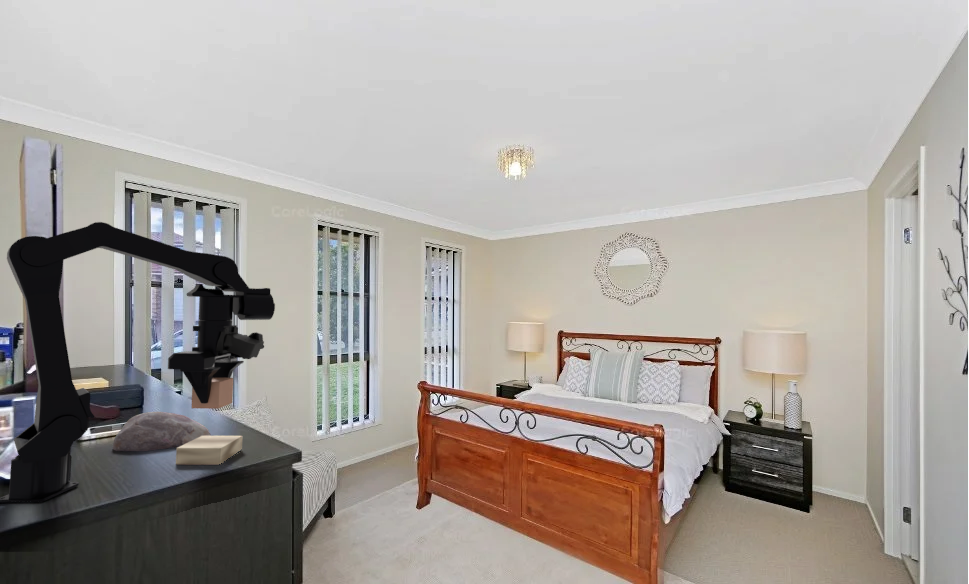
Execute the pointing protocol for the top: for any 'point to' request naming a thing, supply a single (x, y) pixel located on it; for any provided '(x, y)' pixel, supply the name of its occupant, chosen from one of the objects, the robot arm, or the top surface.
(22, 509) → the top surface
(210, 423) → the top surface
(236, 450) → the base
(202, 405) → the block
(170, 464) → the top surface
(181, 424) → the stone
